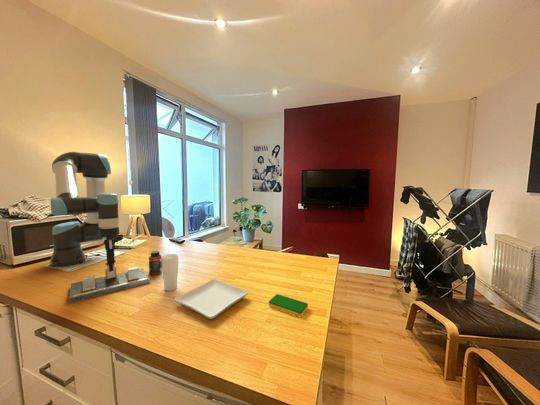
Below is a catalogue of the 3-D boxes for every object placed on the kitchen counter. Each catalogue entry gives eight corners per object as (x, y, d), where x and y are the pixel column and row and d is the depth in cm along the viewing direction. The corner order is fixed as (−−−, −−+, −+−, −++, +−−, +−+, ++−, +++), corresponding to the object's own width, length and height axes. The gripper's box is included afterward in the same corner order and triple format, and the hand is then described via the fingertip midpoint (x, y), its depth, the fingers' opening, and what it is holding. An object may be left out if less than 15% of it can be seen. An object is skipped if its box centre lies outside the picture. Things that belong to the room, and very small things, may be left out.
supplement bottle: (164, 271, 115) (164, 251, 114) (154, 275, 109) (153, 254, 109) (156, 269, 117) (156, 249, 116) (146, 273, 112) (146, 252, 111)
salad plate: (211, 326, 72) (211, 316, 72) (173, 306, 83) (173, 298, 83) (249, 298, 90) (249, 290, 90) (214, 285, 101) (214, 278, 101)
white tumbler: (182, 286, 99) (181, 254, 98) (170, 293, 92) (170, 259, 91) (170, 284, 101) (169, 253, 100) (158, 290, 95) (157, 257, 93)
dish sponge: (276, 299, 90) (276, 293, 90) (307, 309, 83) (308, 303, 83) (268, 307, 84) (268, 301, 84) (301, 318, 77) (301, 312, 77)
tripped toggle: (105, 277, 101) (104, 267, 101) (115, 275, 104) (115, 265, 104) (105, 279, 100) (105, 268, 99) (116, 277, 102) (115, 266, 102)
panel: (71, 287, 96) (70, 272, 95) (143, 272, 114) (142, 258, 113) (69, 303, 84) (68, 285, 83) (149, 282, 102) (149, 267, 101)
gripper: (97, 226, 100) (100, 274, 102) (99, 230, 90) (101, 284, 92) (117, 224, 105) (119, 270, 107) (120, 228, 95) (122, 279, 97)
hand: (111, 277), depth 99 cm, fingers closed
